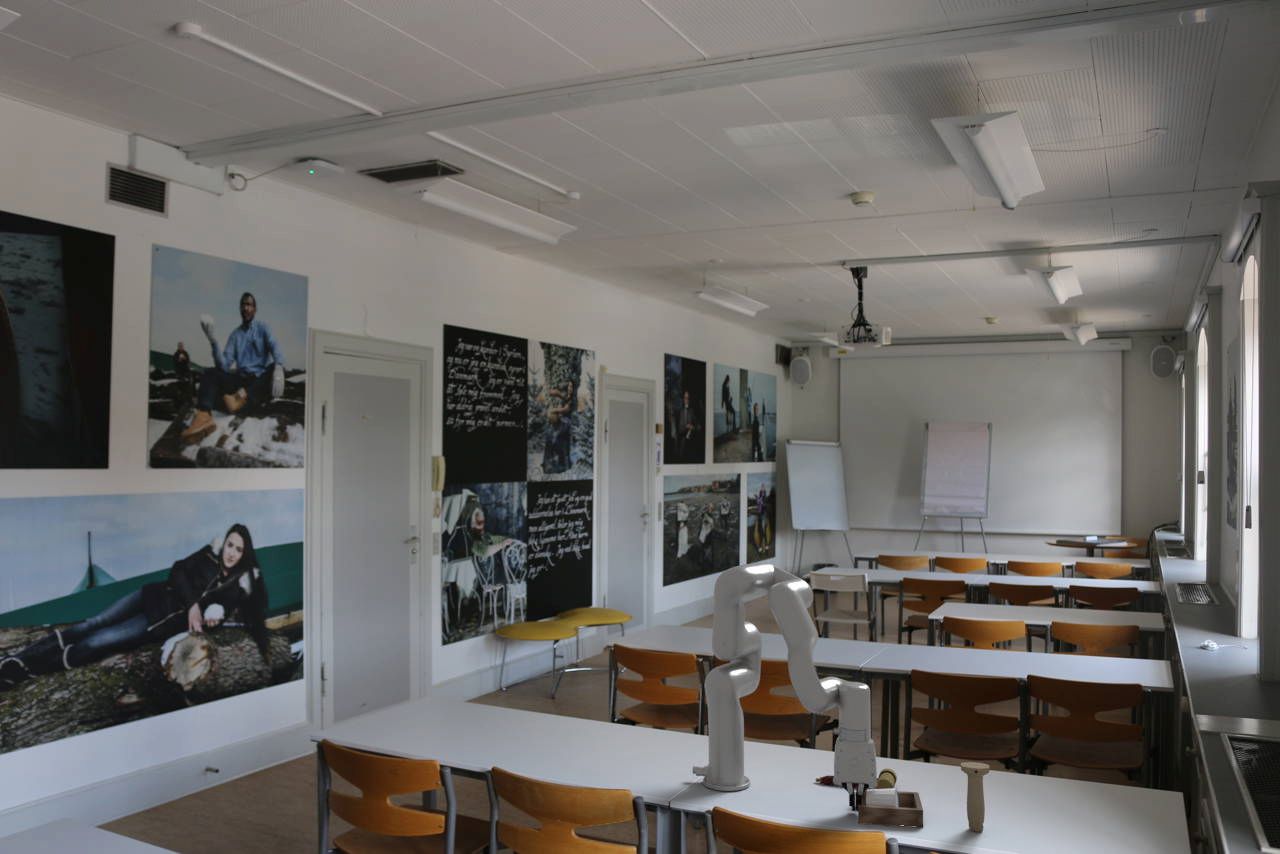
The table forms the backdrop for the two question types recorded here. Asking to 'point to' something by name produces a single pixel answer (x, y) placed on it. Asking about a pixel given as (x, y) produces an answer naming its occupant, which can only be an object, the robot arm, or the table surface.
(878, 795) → the white short tapered cylinder
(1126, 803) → the table surface
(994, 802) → the table surface
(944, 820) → the table surface
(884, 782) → the gavel
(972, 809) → the handle
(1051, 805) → the table surface
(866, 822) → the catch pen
